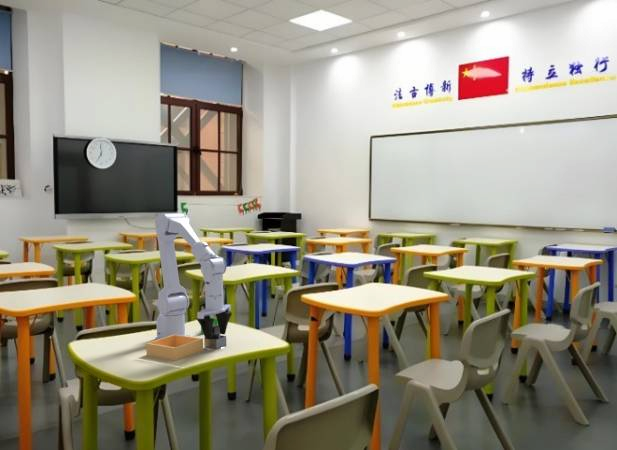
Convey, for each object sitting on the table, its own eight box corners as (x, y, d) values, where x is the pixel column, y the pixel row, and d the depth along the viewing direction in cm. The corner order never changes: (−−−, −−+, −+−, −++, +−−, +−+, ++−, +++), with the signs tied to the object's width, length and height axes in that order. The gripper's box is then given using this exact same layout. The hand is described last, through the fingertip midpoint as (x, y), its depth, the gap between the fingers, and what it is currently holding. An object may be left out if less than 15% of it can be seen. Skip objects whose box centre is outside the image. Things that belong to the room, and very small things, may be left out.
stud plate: (200, 349, 163) (199, 342, 163) (214, 344, 169) (214, 337, 169) (217, 352, 159) (216, 344, 159) (230, 346, 166) (230, 339, 165)
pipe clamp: (211, 336, 181) (210, 323, 181) (201, 336, 181) (200, 323, 181) (220, 328, 192) (220, 316, 192) (210, 328, 192) (210, 316, 192)
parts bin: (146, 356, 156) (146, 343, 156) (174, 346, 167) (174, 334, 167) (175, 361, 150) (175, 348, 150) (203, 350, 161) (202, 338, 161)
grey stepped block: (204, 347, 163) (204, 327, 163) (214, 344, 168) (214, 323, 167) (216, 349, 161) (216, 328, 161) (226, 345, 165) (226, 325, 165)
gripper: (209, 299, 155) (210, 343, 156) (237, 292, 168) (238, 332, 168) (191, 297, 159) (192, 340, 159) (221, 290, 171) (222, 330, 172)
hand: (215, 336), depth 164 cm, fingers open, 6 cm apart
